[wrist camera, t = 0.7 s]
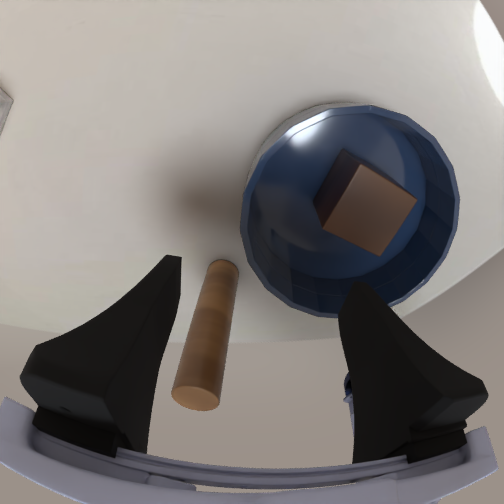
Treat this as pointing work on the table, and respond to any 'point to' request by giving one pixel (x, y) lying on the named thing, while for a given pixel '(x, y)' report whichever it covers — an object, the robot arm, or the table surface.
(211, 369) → the rod
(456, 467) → the robot arm
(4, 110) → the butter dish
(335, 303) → the bowl
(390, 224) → the block
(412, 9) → the table surface
